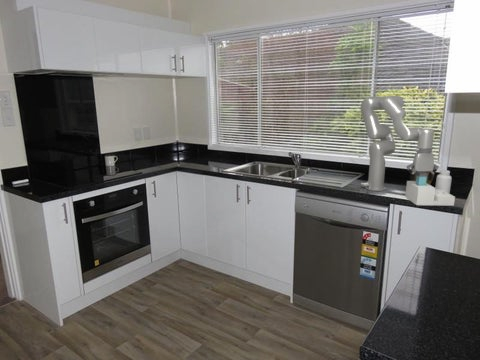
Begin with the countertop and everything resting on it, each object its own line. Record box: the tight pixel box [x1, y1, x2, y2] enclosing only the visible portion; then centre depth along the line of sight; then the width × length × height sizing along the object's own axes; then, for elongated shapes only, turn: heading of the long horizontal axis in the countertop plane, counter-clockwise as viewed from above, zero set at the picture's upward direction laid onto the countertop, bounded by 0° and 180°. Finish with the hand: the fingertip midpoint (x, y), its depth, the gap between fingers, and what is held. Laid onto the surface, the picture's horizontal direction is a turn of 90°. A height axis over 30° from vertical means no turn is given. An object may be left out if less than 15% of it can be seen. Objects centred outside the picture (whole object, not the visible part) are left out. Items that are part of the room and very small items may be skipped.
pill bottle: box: [434, 169, 453, 194], centre depth 211 cm, size 8×8×15 cm
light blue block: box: [416, 172, 427, 186], centre depth 198 cm, size 4×4×11 cm
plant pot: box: [410, 163, 437, 185], centre depth 226 cm, size 15×15×16 cm
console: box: [405, 180, 456, 206], centre depth 199 cm, size 20×16×10 cm
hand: (421, 180), depth 198 cm, fingers open, 9 cm apart
